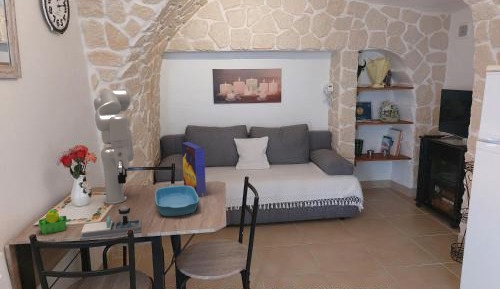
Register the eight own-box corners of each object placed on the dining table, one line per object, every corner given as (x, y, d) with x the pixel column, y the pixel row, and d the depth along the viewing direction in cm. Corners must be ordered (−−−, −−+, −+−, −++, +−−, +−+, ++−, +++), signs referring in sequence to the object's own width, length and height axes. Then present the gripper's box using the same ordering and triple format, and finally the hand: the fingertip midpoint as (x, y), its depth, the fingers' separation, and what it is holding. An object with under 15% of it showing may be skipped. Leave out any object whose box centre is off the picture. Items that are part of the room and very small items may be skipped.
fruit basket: (67, 225, 169) (65, 202, 167) (67, 231, 161) (65, 208, 159) (40, 229, 164) (37, 207, 162) (39, 237, 156) (36, 213, 154)
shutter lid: (84, 225, 163) (84, 217, 162) (112, 222, 166) (111, 214, 165) (81, 233, 154) (80, 225, 153) (110, 230, 157) (109, 222, 157)
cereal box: (184, 188, 224) (181, 142, 219) (192, 187, 227) (190, 141, 222) (196, 198, 206) (194, 148, 200) (205, 196, 209) (204, 147, 203)
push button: (134, 224, 168) (132, 204, 166) (135, 228, 163) (133, 207, 161) (119, 226, 165) (117, 206, 163) (120, 230, 160) (118, 210, 159)
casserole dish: (202, 216, 178) (201, 203, 177) (157, 222, 172) (156, 208, 171) (192, 194, 213) (192, 183, 212) (155, 198, 207) (154, 186, 205)
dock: (85, 228, 165) (84, 224, 164) (141, 221, 172) (141, 217, 171) (79, 240, 153) (79, 235, 152) (141, 232, 159) (140, 228, 159)
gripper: (127, 146, 150) (130, 184, 153) (129, 140, 166) (132, 174, 169) (109, 147, 148) (112, 186, 151) (112, 141, 164) (115, 176, 167)
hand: (122, 180), depth 160 cm, fingers open, 9 cm apart
